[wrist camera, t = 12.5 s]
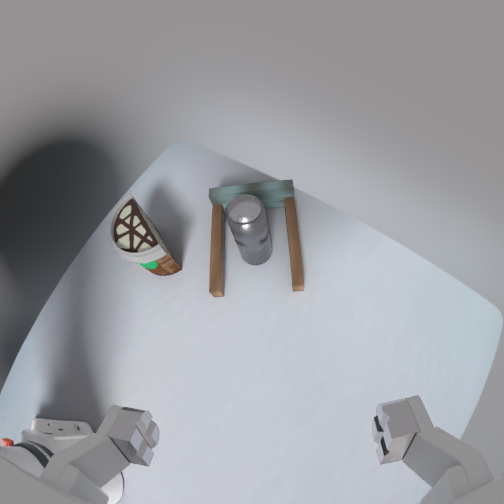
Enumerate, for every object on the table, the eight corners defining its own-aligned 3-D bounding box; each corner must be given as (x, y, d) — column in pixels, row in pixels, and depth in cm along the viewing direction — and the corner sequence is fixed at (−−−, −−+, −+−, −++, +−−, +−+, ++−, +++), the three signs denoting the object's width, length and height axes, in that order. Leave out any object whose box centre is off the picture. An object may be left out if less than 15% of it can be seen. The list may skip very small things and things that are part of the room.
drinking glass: (240, 266, 44) (223, 226, 33) (240, 238, 46) (224, 193, 35) (272, 263, 43) (265, 222, 33) (271, 235, 45) (263, 189, 35)
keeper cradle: (214, 296, 42) (204, 285, 38) (216, 206, 49) (209, 188, 45) (303, 290, 41) (304, 278, 36) (293, 198, 48) (292, 179, 43)
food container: (127, 244, 49) (98, 215, 40) (154, 224, 49) (129, 191, 41) (155, 298, 43) (122, 275, 34) (186, 276, 44) (160, 247, 35)
